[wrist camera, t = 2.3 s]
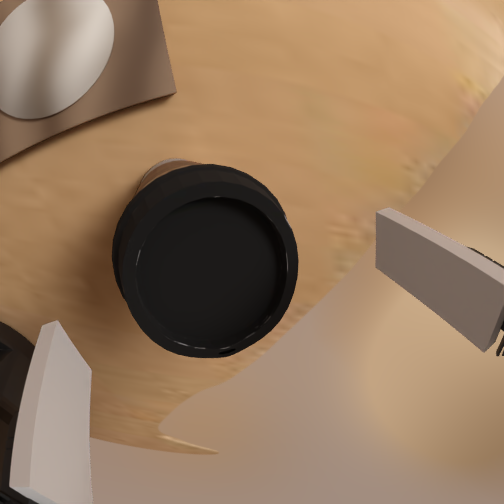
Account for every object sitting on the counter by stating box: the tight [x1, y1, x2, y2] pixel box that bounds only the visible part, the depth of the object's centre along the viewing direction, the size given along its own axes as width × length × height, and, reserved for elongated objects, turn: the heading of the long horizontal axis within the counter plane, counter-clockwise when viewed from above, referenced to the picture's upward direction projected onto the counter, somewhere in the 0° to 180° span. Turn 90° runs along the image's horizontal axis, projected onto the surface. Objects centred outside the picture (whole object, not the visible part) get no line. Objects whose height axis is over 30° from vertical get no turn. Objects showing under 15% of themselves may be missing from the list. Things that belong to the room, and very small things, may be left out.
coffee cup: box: [112, 159, 298, 358], centre depth 18 cm, size 8×8×15 cm
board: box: [0, 0, 177, 163], centre depth 15 cm, size 18×14×2 cm
